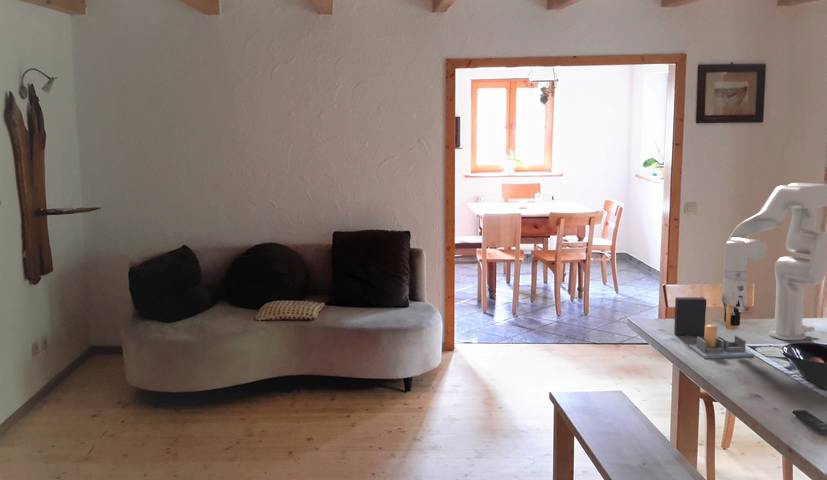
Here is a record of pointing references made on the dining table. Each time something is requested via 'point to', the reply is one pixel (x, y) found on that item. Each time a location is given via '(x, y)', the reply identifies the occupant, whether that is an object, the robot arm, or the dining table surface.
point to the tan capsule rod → (729, 317)
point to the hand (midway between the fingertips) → (731, 323)
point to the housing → (719, 345)
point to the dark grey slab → (690, 316)
